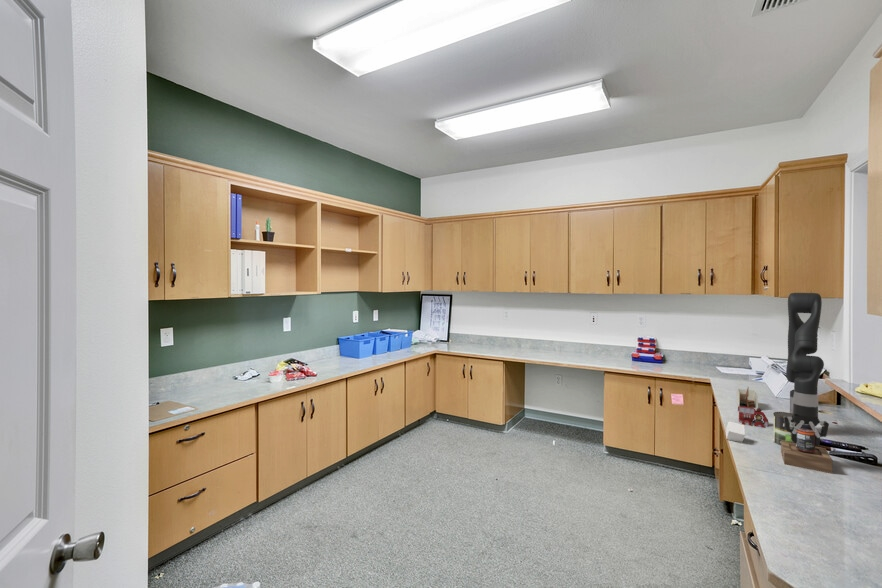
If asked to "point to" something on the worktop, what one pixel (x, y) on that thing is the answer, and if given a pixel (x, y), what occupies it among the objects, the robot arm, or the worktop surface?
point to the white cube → (735, 432)
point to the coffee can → (781, 428)
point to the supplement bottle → (805, 439)
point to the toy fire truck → (752, 417)
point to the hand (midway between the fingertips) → (805, 443)
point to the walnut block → (806, 458)
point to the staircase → (747, 397)
